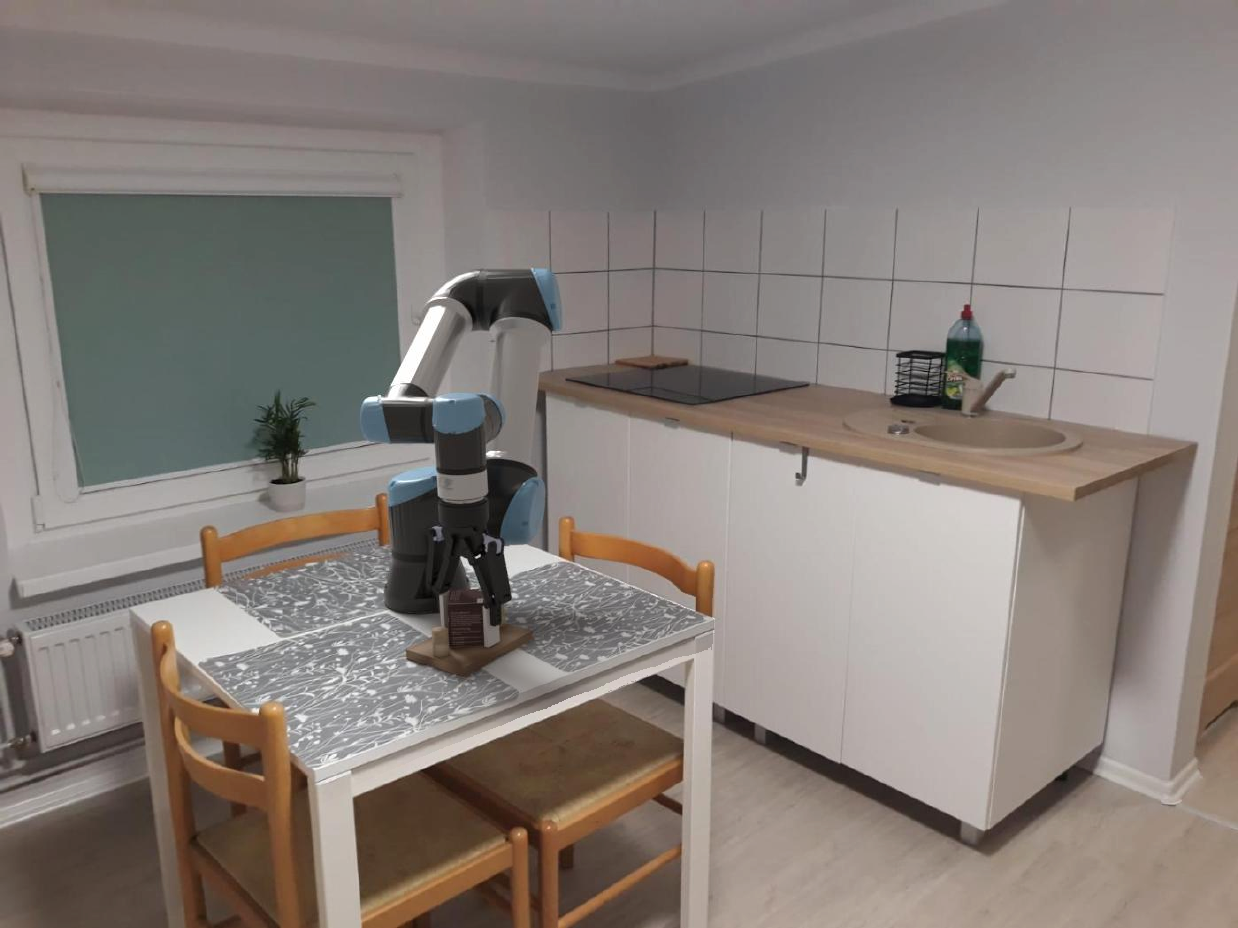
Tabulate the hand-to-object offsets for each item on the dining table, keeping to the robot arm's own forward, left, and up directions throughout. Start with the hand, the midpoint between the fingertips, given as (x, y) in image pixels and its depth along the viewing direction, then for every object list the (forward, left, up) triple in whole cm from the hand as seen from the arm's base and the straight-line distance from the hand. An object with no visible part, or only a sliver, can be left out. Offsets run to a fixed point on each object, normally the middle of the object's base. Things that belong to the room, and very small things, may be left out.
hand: (470, 637), depth 153 cm
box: (0, 0, -1) cm, 1 cm away
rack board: (0, 0, -2) cm, 2 cm away
